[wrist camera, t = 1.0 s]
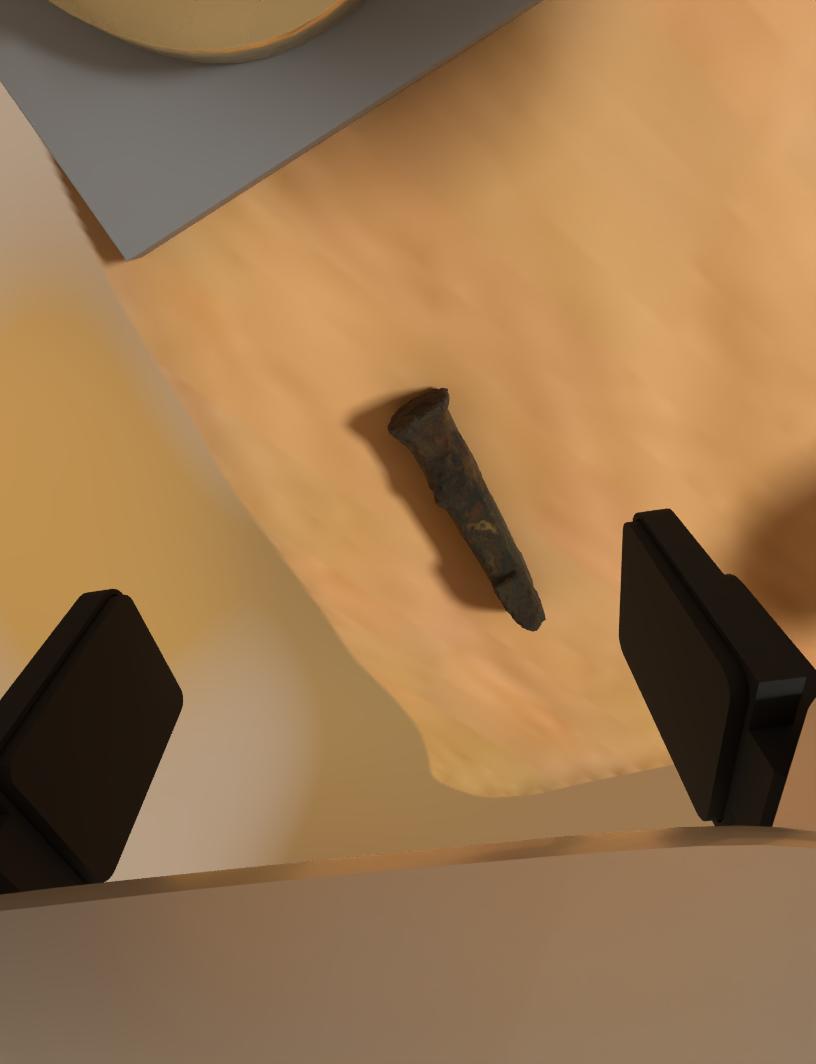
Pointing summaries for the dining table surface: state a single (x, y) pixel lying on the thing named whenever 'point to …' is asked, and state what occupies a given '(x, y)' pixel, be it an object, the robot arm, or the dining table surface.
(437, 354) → the dining table surface
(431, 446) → the hand tool
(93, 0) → the beige piece
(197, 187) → the base plate
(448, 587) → the dining table surface
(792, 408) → the dining table surface
